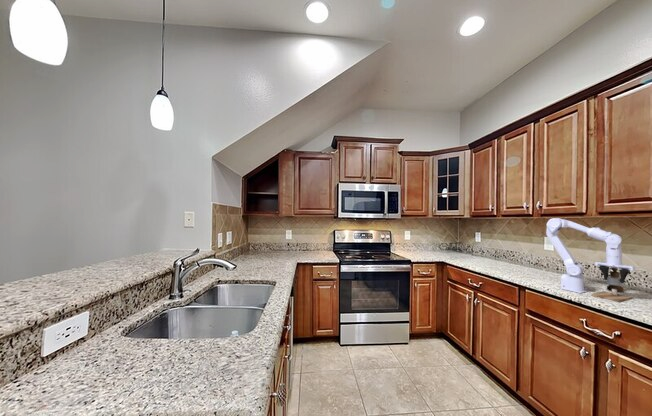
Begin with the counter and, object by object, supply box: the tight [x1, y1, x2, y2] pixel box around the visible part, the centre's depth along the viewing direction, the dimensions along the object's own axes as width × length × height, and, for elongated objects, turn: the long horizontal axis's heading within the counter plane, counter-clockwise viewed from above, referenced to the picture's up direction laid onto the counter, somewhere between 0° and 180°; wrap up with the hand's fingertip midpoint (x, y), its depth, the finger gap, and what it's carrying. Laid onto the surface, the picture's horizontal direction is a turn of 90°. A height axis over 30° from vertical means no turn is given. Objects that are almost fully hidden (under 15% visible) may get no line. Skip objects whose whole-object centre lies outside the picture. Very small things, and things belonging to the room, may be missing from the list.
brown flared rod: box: [606, 267, 625, 293], centre depth 153 cm, size 7×6×18 cm
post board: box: [590, 289, 633, 303], centre depth 141 cm, size 11×14×5 cm
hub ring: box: [606, 276, 623, 287], centre depth 140 cm, size 5×5×4 cm
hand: (614, 281), depth 140 cm, fingers closed on hub ring, 5 cm apart
